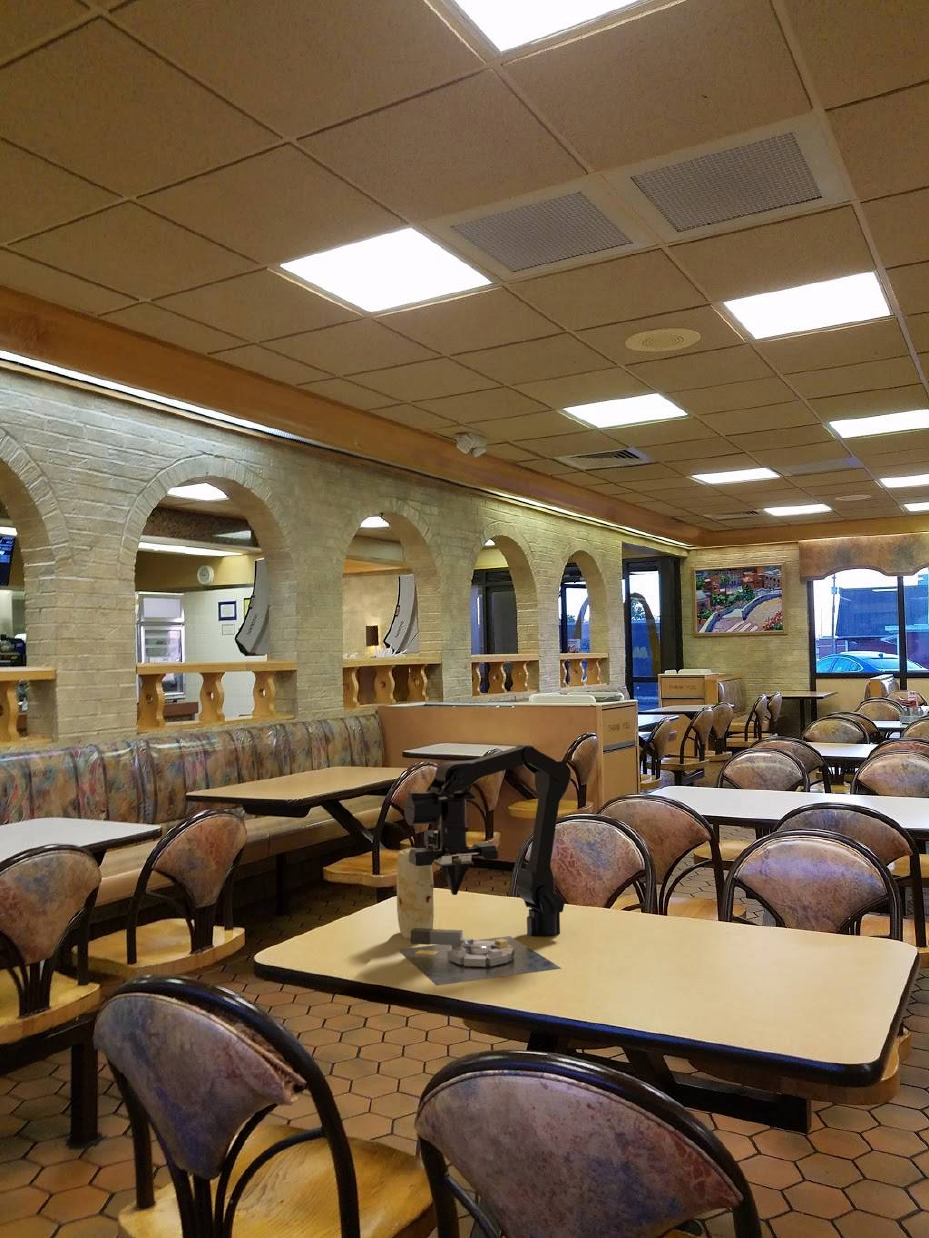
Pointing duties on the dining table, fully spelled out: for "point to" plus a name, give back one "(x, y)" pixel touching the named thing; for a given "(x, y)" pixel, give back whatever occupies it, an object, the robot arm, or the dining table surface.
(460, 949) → the grey ring frame
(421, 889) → the food model
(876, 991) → the dining table surface
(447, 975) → the cap plate
